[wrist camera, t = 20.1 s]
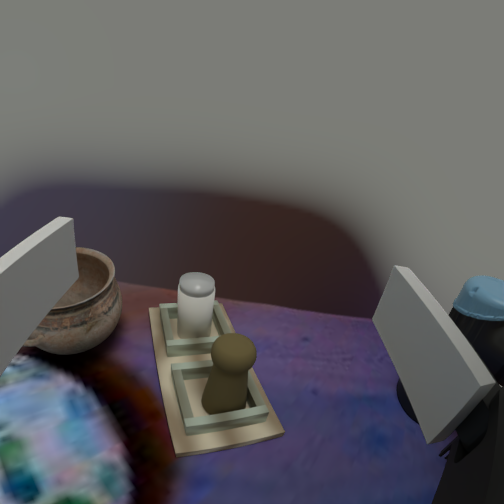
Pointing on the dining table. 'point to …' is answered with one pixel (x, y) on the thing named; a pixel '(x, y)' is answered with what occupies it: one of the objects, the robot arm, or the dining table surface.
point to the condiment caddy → (192, 387)
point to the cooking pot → (82, 309)
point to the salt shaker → (195, 305)
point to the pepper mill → (228, 374)
